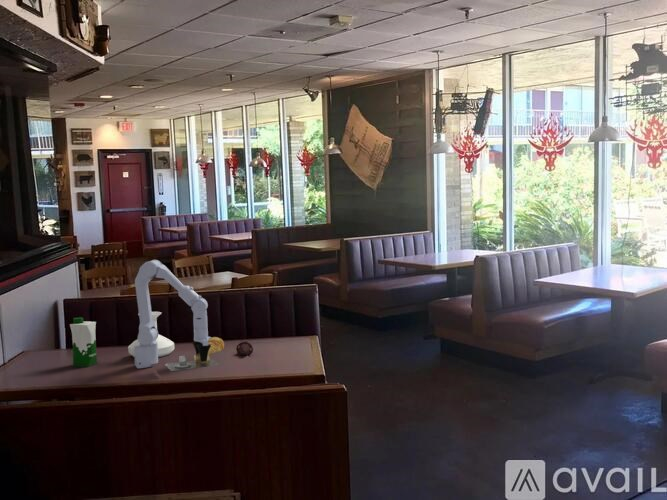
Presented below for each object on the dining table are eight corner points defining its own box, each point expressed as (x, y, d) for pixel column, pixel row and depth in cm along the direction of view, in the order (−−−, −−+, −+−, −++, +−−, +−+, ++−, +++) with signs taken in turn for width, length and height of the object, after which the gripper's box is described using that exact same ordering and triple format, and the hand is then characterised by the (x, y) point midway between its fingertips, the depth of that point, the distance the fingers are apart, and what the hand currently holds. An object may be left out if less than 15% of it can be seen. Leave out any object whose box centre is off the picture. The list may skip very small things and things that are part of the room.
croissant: (214, 365, 298) (222, 349, 298) (194, 354, 298) (201, 338, 298) (224, 353, 319) (231, 338, 319) (205, 343, 319) (212, 328, 319)
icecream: (254, 345, 290) (254, 341, 305) (237, 341, 289) (238, 337, 304) (250, 361, 289) (251, 356, 304) (233, 357, 289) (235, 353, 304)
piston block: (171, 374, 269) (170, 361, 269) (164, 366, 282) (163, 354, 282) (220, 367, 278) (220, 355, 277) (211, 360, 290) (211, 348, 290)
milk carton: (81, 362, 295) (79, 316, 294) (100, 362, 293) (98, 316, 292) (69, 366, 286) (67, 319, 285) (89, 367, 285) (86, 320, 283)
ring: (196, 363, 281) (196, 356, 281) (193, 360, 286) (193, 353, 286) (210, 361, 284) (210, 354, 283) (207, 359, 289) (206, 352, 289)
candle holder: (120, 361, 294) (117, 317, 293) (141, 351, 314) (139, 310, 313) (163, 362, 291) (161, 317, 289) (182, 351, 310) (180, 310, 309)
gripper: (214, 329, 279) (215, 362, 280) (205, 324, 292) (207, 355, 293) (197, 331, 276) (198, 364, 277) (189, 325, 289) (190, 357, 290)
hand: (202, 359), depth 285 cm, fingers closed on ring, 6 cm apart
